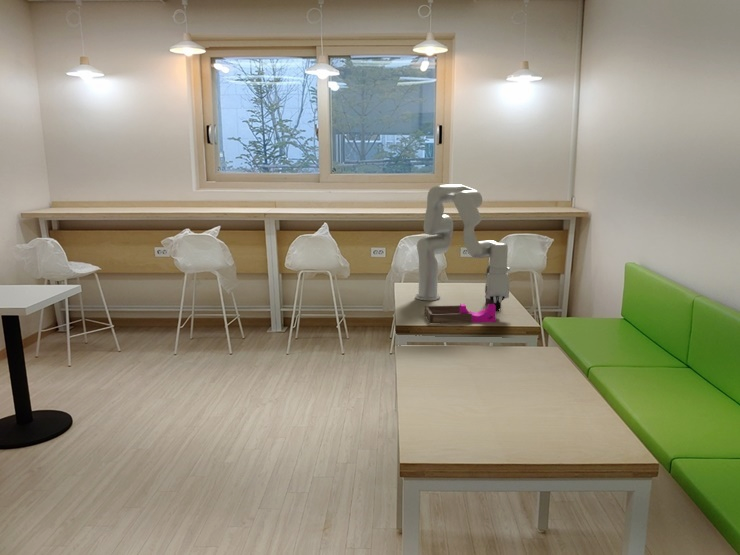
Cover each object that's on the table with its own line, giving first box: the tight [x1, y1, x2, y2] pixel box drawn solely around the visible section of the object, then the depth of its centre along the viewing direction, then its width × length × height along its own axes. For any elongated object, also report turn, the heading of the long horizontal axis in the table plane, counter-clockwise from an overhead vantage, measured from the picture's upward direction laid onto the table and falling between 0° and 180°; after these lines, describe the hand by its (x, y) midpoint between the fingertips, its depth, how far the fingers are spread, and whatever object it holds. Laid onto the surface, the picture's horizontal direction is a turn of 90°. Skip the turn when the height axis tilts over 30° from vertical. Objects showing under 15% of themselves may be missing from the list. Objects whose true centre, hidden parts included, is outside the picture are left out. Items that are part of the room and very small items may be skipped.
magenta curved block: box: [459, 303, 496, 323], centre depth 259 cm, size 15×6×8 cm, turn 89°
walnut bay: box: [424, 304, 473, 324], centre depth 262 cm, size 15×18×4 cm
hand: (496, 310), depth 264 cm, fingers closed
